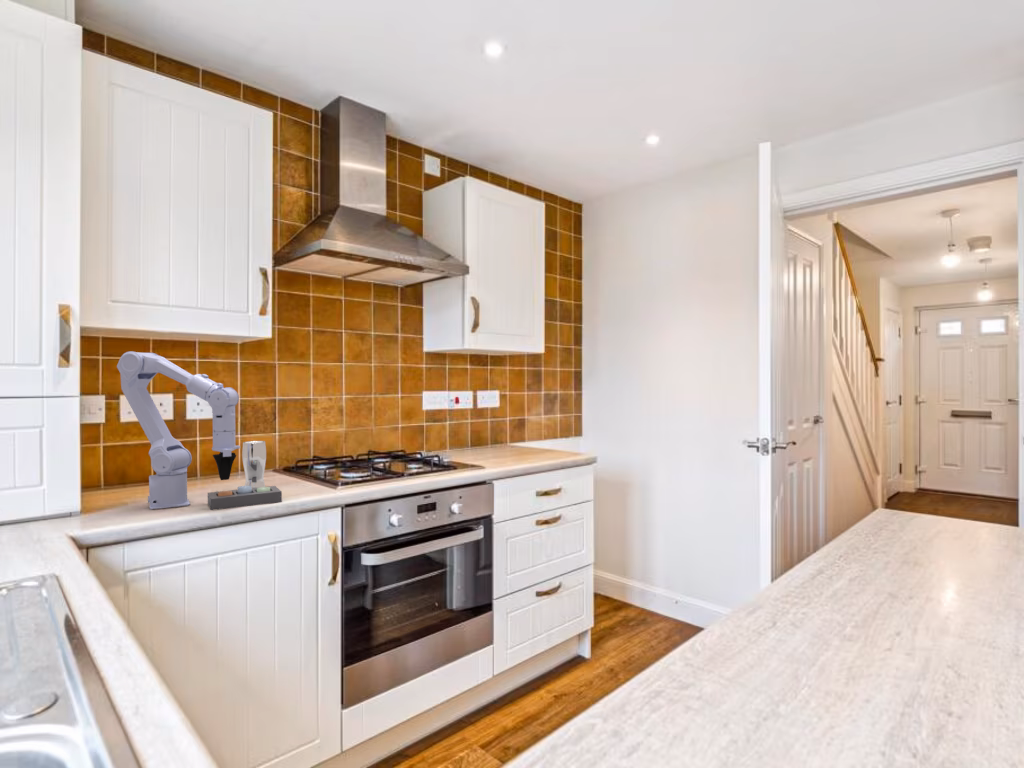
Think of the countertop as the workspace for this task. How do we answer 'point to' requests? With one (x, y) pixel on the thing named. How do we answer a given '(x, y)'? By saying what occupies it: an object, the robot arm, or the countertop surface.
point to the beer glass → (254, 463)
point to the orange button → (224, 493)
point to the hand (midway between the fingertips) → (224, 479)
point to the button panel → (244, 498)
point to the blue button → (244, 489)
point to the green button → (263, 489)
